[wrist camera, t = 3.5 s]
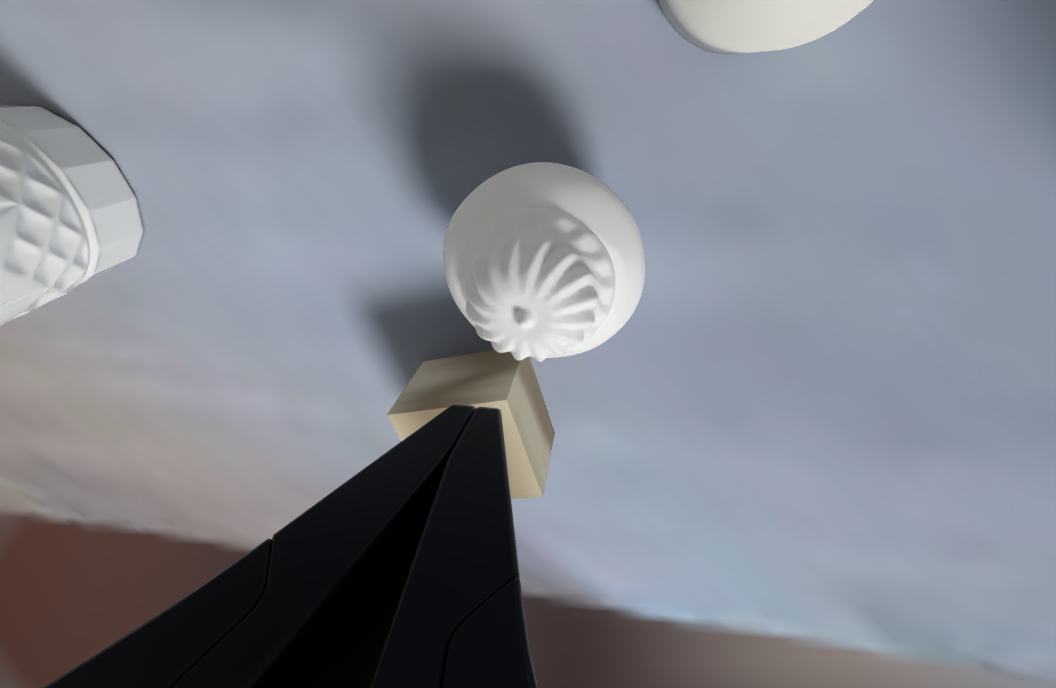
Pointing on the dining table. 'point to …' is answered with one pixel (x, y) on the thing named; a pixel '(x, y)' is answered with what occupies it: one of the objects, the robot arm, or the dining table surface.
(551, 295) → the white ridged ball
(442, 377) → the maple block
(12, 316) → the white cup
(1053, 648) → the dining table surface
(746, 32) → the white rounded lump
